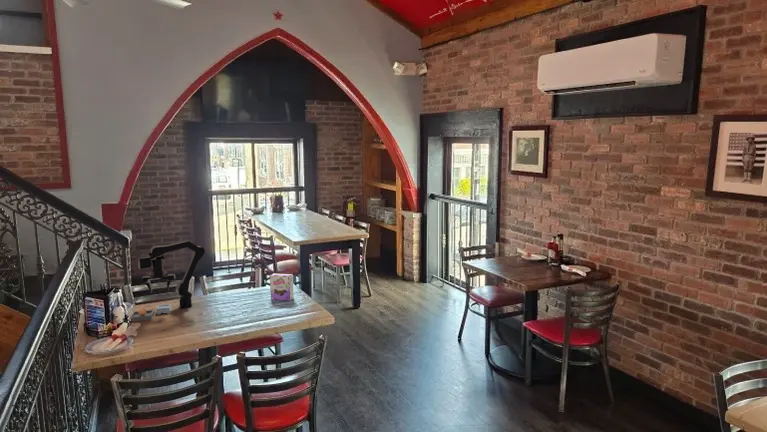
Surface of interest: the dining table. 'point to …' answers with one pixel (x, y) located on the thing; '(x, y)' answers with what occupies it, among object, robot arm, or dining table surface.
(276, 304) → the dining table surface
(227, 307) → the dining table surface
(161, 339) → the dining table surface
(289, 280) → the candy box
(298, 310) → the dining table surface
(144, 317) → the tray
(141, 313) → the ball
